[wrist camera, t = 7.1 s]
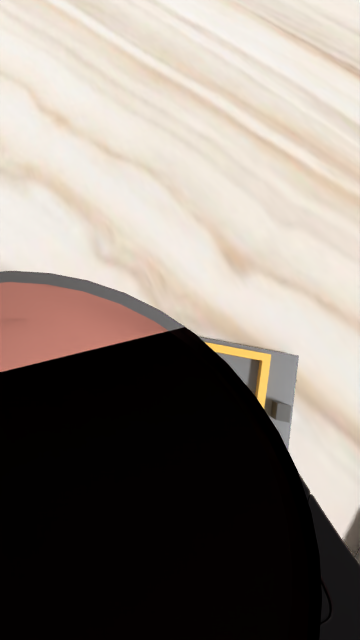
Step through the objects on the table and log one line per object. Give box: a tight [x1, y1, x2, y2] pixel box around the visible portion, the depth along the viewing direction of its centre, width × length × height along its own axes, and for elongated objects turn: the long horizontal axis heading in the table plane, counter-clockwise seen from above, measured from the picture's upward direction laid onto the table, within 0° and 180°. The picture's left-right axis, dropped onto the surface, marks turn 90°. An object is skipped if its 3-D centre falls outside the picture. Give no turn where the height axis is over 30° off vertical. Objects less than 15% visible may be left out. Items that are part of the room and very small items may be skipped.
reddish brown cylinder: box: [0, 271, 322, 640], centre depth 8 cm, size 5×5×13 cm
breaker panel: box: [199, 337, 299, 450], centre depth 19 cm, size 25×13×2 cm, turn 169°
